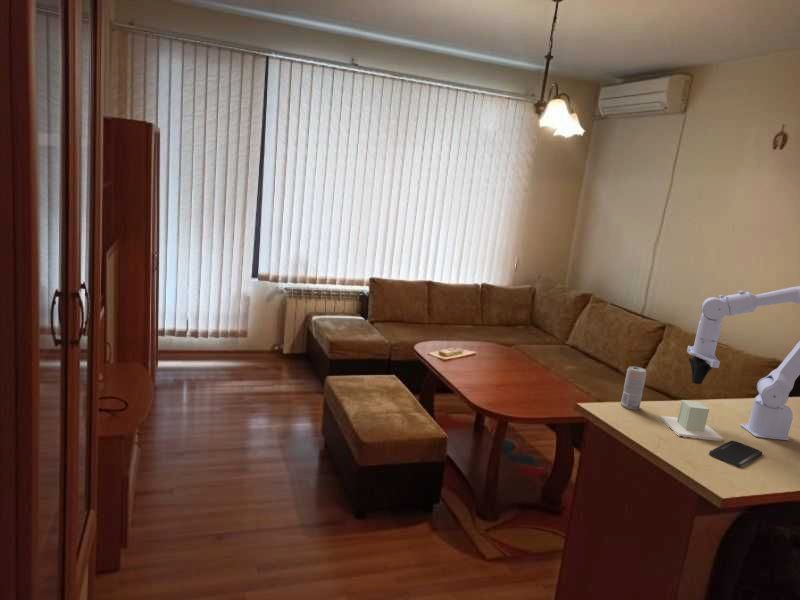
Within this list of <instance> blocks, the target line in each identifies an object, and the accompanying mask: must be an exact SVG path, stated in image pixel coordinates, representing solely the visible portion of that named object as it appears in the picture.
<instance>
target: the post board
mask: <svg viewBox="0 0 800 600" xmlns="http://www.w3.org/2000/svg"><path fill="white" fill-rule="evenodd" d="M677 418H678V416H676V417H675V416H668V415H660V416H659V419H660V420H661V421H662V422H663V423H664V424H665V426H667V427H668V428H669V427H670V428H671V429H672V430H673V431H674V432H675V433H676V434H677V435H678V436H683V437H682V438H687V437H691V438H690V439H697V438H698V440H708V441H715V442H716V441H718V442H723V441H724V438H723V437H722V436H721V435H720V434H718V433H717V432H716V431H715V430H714V429H713V428H712V427H710V426H709V425H708V424H706V425H705V430H704V432H703V431H693V430H685V429H684V428H683V427H682V426H681V425H680V424H679V423H678V422H677ZM670 428H669V429H670ZM671 429H670V430H671ZM672 430H671V431H672ZM673 431H672V432H673ZM674 432H673V433H674ZM675 433H674V434H675ZM676 434H675V435H676ZM677 435H676V436H677ZM678 436H677V437H678Z"/></svg>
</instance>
